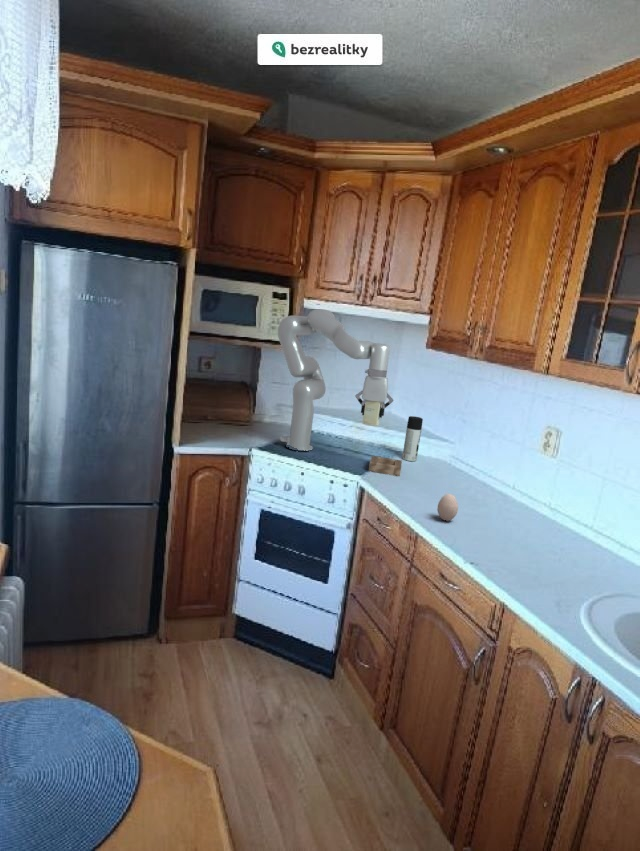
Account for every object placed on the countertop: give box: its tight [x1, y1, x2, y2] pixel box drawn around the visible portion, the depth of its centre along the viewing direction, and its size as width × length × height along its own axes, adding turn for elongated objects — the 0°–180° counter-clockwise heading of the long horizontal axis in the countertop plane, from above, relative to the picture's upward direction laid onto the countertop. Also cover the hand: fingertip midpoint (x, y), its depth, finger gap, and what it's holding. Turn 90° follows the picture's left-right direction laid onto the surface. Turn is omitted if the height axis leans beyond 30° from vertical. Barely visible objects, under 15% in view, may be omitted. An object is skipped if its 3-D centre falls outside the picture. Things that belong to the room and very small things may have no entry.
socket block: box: [368, 455, 403, 477], centre depth 242 cm, size 13×13×4 cm
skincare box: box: [362, 400, 382, 427], centre depth 238 cm, size 6×4×12 cm
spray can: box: [402, 415, 424, 462], centre depth 262 cm, size 7×7×20 cm
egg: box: [436, 493, 459, 522], centre depth 190 cm, size 7×7×9 cm
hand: (372, 415), depth 239 cm, fingers closed on skincare box, 6 cm apart
